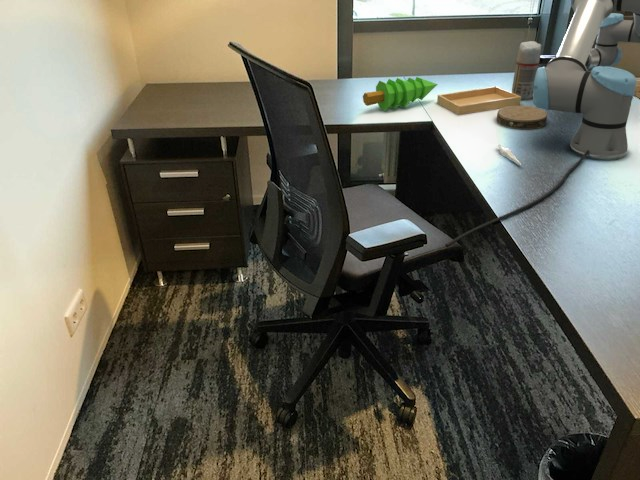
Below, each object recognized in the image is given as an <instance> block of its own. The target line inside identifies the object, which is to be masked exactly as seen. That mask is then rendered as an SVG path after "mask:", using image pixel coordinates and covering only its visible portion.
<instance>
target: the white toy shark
mask: <svg viewBox="0 0 640 480" xmlns="http://www.w3.org/2000/svg"><path fill="white" fill-rule="evenodd" d="M497 147H498V148H499V152H500V154H501V155H502V156H503V157H504V158H505V157H506V158H507V159H508V160H509V161H511V162H513V163H514V164H516V165H518V166H520V167H522V166H523V165H522V163H521V161H519V159H518V158H517V157H516V156H515V154H514V153H512V150H511V149H510V148H507V147H505V146H502V145H501V144H498V145H497Z"/></svg>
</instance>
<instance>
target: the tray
mask: <svg viewBox="0 0 640 480" xmlns="http://www.w3.org/2000/svg"><path fill="white" fill-rule="evenodd" d="M436 101H437V104H438V105H439V106H442V108H445V109H447V110H449V111H451V112H452V113H454V114H456V115H458V116H461V115H467V114H472V113H479V112H487V111H491V110H499V109H501V108H503V107H507V106H521V103H522V99H521V96H519V95H516V94H514V93H512V91H509V90H507V89H504V88H503V87H499V86H497V85H495V86H490V87H489V86H488V87H482V88H475V89H469V90H461V91H456V92H450V93H442V94H437V100H436Z"/></svg>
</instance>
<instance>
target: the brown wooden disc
mask: <svg viewBox="0 0 640 480" xmlns="http://www.w3.org/2000/svg"><path fill="white" fill-rule="evenodd" d="M497 110H498V111H497V113H496V122H497V124H499V125H501V126H503V127H505V128H508V129H509V128H510V129H514V130H535V129H536V130H537V129H540V128H542V127H545V125H546V124H547V119H548V113H547V110H545V109H543V108H538V107H536V106H531V105H517V106H507V107H503V108H498V109H497Z"/></svg>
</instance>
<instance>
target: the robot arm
mask: <svg viewBox="0 0 640 480" xmlns="http://www.w3.org/2000/svg"><path fill="white" fill-rule="evenodd" d="M570 7H571V9H572V10H573V12H574V14H573V17H572V18H571V21H570V22H569V23H570V24H569V26H568V28H567V30H566V33H565V35H564V37H563V40H562V42H561V45H560V46H559V49H558V52H557V53H556V55H551V54H550V55H540V60H539V65H546V66H542V67H541V66H540V67H538V69H537V72H536V75H535V80H534V88H533V95H532V103H533V105H534V107H536V108H539V109H542V110H545V111H557V112H565V113H574V114H581V115H582V117H581V121H580V125H579V126H578V128H577V130H576V132H575V133H574V135H573V136H572V139H571V140H570V143H569V150H570V152H572V153H574V154H575V155H577V156H580V158H579V159H578V160H577V162H576V163H575V164H574V165H572V166H571V167H570V168H569V169H568V170H567V171H566V173H565V174H564V176H563V177H562V179H560V181H559V182H558V183H557V184H556V185H555V186H554V187H553V188H551V189H550V190H549V191H548V192H546V193H545V194H543V195H541V196H540V197H538V198H537V199H535V200H533V201H531V202H529V203H527V204H526V205H523V206H522V207H519V208H517V209H515V210H513V211H511V212H510V211H509V212H508V213H506V214H503V215H501V216H499V217H496V218H494V219H492V220H489V221H487V222H485V223H483V224H480V225H478V226H476V227H474V228H472V229H470V230H468V231H465V232H464V233H462V234H461V235H459V236H457V237H456V238H454V239H452V240H451V241H449V242H447V243H445V245H444V246H445V247H446V248H449V247H450V246H452V245H454V244H456V243H457V242H458V241H460V240H462V239H464V238H466V237H467V236H470V235H471V234H473V233H475V232H477V231H480V230H482V229H484V228H486V227H488V226H490V225H493V224H495V223H497V222H499V221H502V220H504V219H507V218H508V217H511V216H513V215H516V214H517V213H519V212H522V211H524V210H526V209H528V208H531V207H532V206H534V205H535V204H537V203H539V202H541V201H543V200H544V199H546V198H547V197H549V196H550V195H551V194H553V193H554V192H555V191H556V190H557V189H558V188H559V187H560V186H561V185H562V184H563V183H564V182H565V180H566V179H567V178H568V176H569V175H570V174H571V172H573V170H575V169H576V168H577V167H578V166H579V165H580V164H581V163H582V162H583V160H585V158H586V159H591V160H598V161H613V160H619V159H621V158H624V157H625V156H626V155H627V154H628V153H627V152H628V148H629V145H628V136H627V123H628V119H629V115H630V110H631V106H632V102H633V99H634V96H635V94H636V86H637V78H636V76H635V75H634V74H633V73H631V72H630V71H627V70H625V69H623V68H619V67H615V66H616V65H617V64H619V63H620V62H621V60H622V58H623V53H622V49H621V47H619V45H618V44H619V42H624V43H637V44H640V0H570ZM617 12H631V13H632V14H633V20H632V19H624V17H625V16H624V14H622V13H617ZM594 43H595V46H594ZM593 46H594V48H593ZM613 66H614V67H613ZM589 70H590V71H589Z"/></svg>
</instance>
